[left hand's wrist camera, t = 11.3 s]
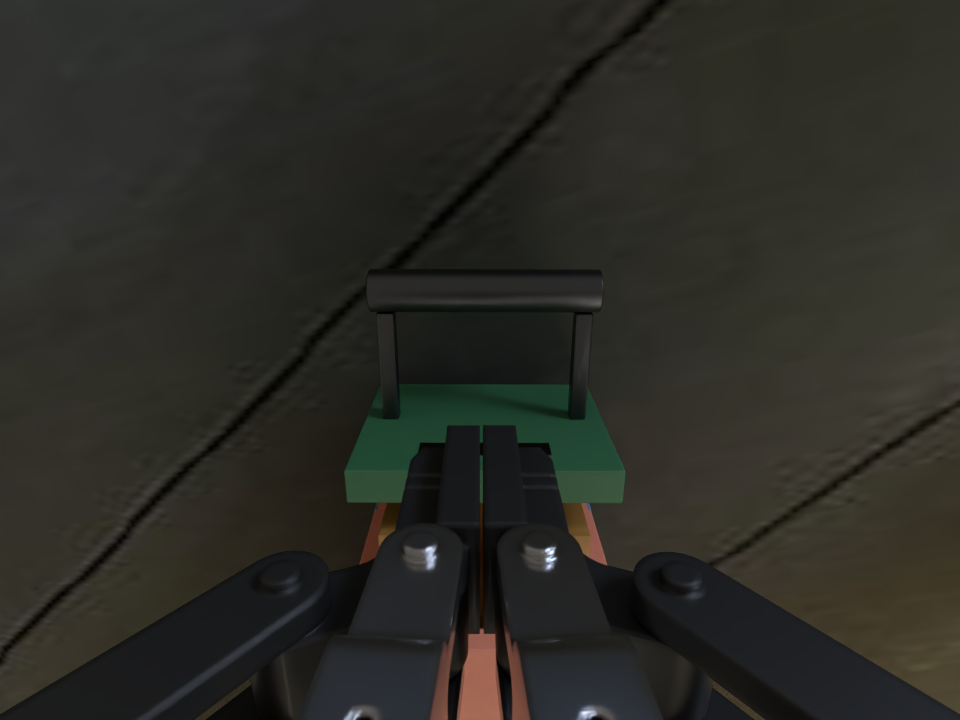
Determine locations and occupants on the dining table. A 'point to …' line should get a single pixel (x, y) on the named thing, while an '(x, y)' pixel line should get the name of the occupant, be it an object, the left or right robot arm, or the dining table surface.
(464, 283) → the drawer
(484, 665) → the cabinet
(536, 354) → the dining table surface
